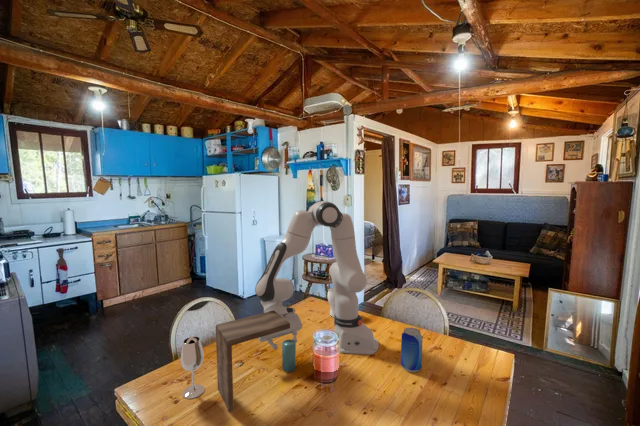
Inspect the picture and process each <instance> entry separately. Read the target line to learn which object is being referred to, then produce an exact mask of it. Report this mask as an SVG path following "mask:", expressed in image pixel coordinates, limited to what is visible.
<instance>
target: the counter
mask: <svg viewBox="0 0 640 426" xmlns="http://www.w3.org/2000/svg"><path fill="white" fill-rule="evenodd" d="M289 328H290V323H289V322H288V321H287V320H285V319H284V318H283V317H282V316H280V315H279V314H278V313H277V312H275V311H270V312H266V313H264V312H261V313H258V314H254V315H251V316H246V317H242V318H238V319H235V320H230V321H226V322H222V323H219V324H216V325H215V338H216V339H215V340H216V343H215V344H216V348H215V349H216V374H217V375H216V376H217V377H216V378H217V380H216V381H217V390H218V392H219V394H220V396H221V398H222V400H223V402H224V405H225V407H226V409H227V411H228V413H231V412H233V411H234V385H233V384H234V380H233V375H234V374H233V347H232V346H234V345H239V344H242V343H245V342H249V341H252V340H255V339H258V338H259V337H262V336H266V335H269V334H273V333H276V332H279V331H283V330H286V329H289Z"/></svg>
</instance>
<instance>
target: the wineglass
mask: <svg viewBox="0 0 640 426" xmlns="http://www.w3.org/2000/svg"><path fill="white" fill-rule="evenodd" d="M201 342H202V341H201V339H200V337H199V336H189V337H187V338H185V339H184V340H183V341H182V347H181V351H180V352H181V353H180V365H181V367H182V369H184V370H185V371H187V372H190V373H191V383H192V385H189V386H188V387H186V388H185V389H184V390H183V391H182V393H181V394H182V395H181V396H182V397H183V398H185V399H187V400H190V399H191V400H193V399H196V398H198V397H199V396H201V395H202V394H203V393H204V392H205V387H204V385H202V384H198V383H197V384H195V371H197V370H198V369H199V368H201V366H202V364H203V362H204V359H205V358H204V355H205V354H204V350H203V349H204V348H203V346H202V343H201Z"/></svg>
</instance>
